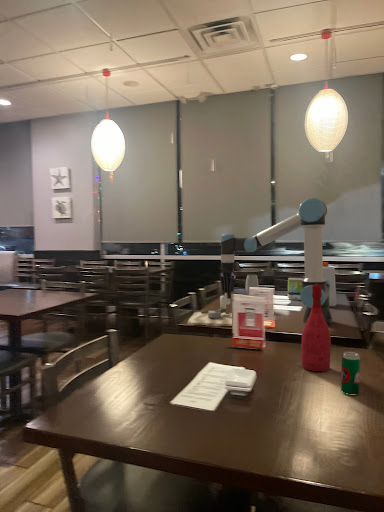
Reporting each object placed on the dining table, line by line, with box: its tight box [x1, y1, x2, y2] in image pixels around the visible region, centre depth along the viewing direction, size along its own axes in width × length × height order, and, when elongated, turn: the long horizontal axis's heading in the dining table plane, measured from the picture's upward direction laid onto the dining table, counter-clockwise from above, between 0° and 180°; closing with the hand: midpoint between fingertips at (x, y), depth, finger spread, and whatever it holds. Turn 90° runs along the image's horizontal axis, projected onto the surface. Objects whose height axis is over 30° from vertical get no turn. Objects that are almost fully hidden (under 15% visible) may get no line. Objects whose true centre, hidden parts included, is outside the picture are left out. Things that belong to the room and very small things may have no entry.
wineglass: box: [245, 274, 260, 296], centre depth 239 cm, size 9×9×21 cm
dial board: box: [186, 310, 233, 327], centre depth 209 cm, size 26×26×3 cm
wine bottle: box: [301, 284, 332, 372], centre depth 135 cm, size 10×10×30 cm
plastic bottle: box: [322, 261, 337, 308], centre depth 250 cm, size 15×15×28 cm
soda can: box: [340, 351, 361, 395], centre depth 115 cm, size 5×5×12 cm
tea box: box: [287, 277, 304, 301], centre depth 273 cm, size 15×10×15 cm
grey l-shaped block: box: [208, 295, 227, 319], centre depth 211 cm, size 14×7×10 cm, turn 144°
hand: (227, 304), depth 213 cm, fingers closed
